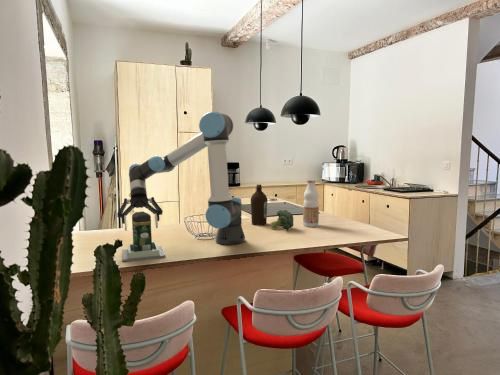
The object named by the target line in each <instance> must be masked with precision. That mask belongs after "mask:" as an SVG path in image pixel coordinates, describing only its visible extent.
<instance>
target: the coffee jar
mask: <svg viewBox="0 0 500 375" xmlns="http://www.w3.org/2000/svg"><path fill="white" fill-rule="evenodd" d="M131 223H132V224H131V226H132V227H131V228H132V244H133V249H134V252H138V251H148V250H152V242H153V240H152V239H153V238H152V237H153V236H152V216H151V215H150V214H149V213H148V212H145V211H135V212H134V213H133V214H132V215H131Z"/></svg>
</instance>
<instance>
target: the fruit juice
mask: <svg viewBox="0 0 500 375" xmlns="http://www.w3.org/2000/svg"><path fill="white" fill-rule="evenodd" d="M306 183H307V185H306V188H305V190H304V192H303V199H304V200H303V205H302V206H303V208H302V224H303V226H304V227H305V228H316V227H318V226H319V220H320V219H319V217H320V215H319V213H320V208H319V206H320V203H319V196H320V195H319V192H318V189H317V187H316V180H314V179H311V180H309V179H308V180H307V181H306Z"/></svg>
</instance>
